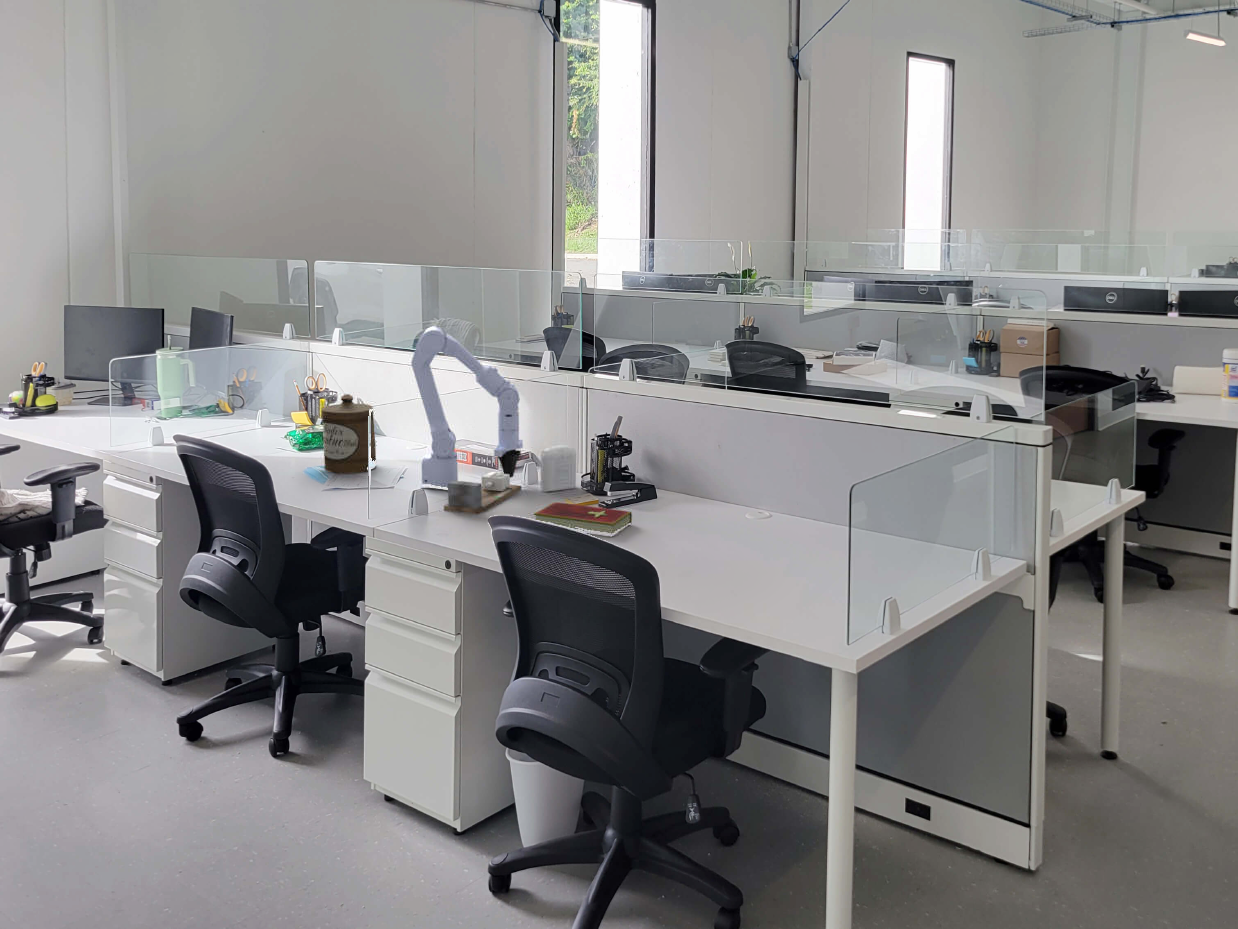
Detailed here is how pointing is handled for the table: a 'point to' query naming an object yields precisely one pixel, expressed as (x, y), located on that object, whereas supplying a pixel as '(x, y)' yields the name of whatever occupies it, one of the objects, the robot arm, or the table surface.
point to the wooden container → (347, 436)
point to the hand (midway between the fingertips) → (508, 476)
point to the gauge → (496, 481)
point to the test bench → (484, 500)
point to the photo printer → (558, 468)
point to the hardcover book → (584, 517)
